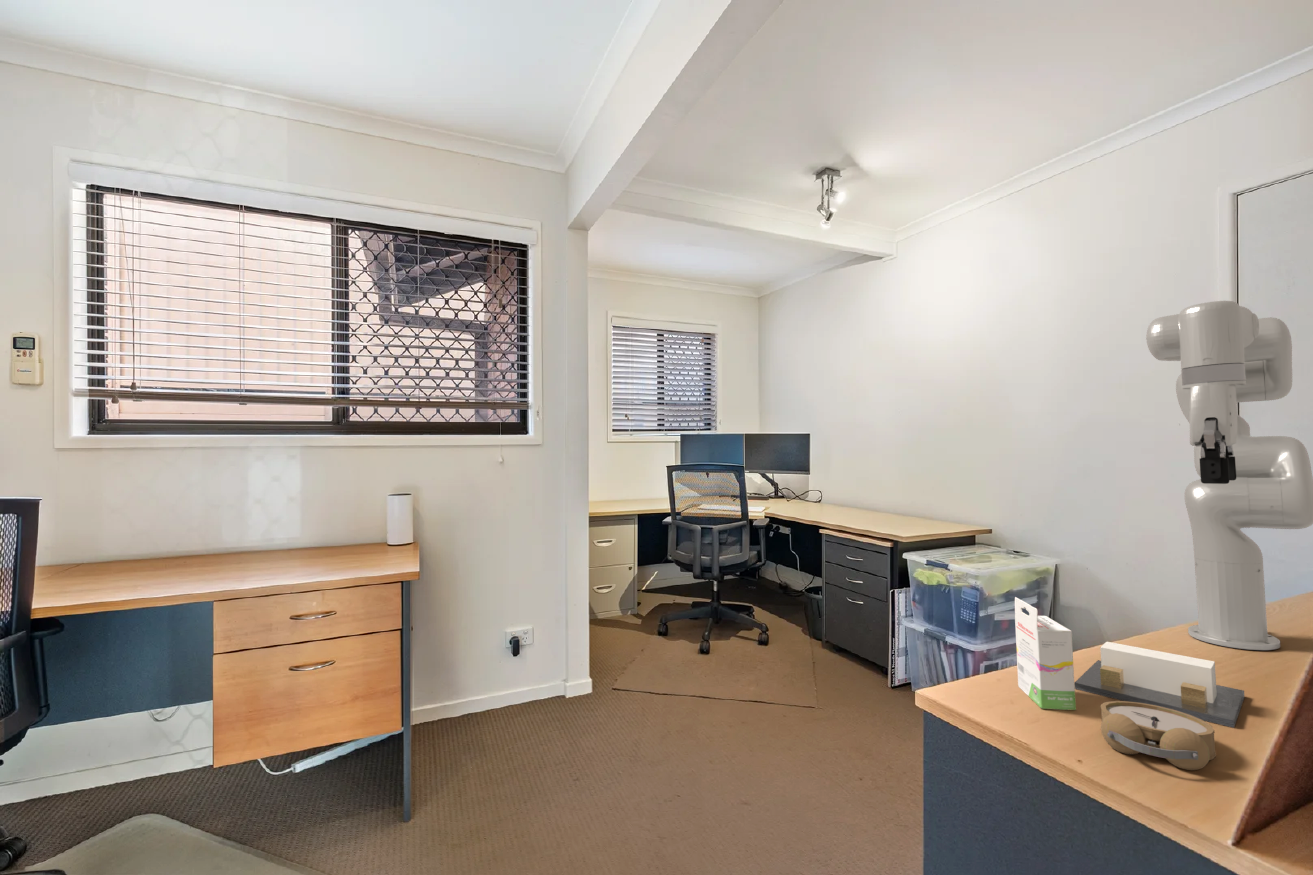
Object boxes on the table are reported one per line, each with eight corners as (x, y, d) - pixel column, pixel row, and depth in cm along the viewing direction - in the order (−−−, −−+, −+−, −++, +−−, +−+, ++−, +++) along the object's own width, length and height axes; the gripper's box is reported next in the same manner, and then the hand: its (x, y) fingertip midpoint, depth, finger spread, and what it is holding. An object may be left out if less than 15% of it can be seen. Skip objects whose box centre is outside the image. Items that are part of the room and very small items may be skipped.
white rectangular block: (1108, 671, 95) (1106, 641, 95) (1216, 695, 85) (1214, 661, 85) (1102, 678, 92) (1100, 647, 93) (1213, 703, 83) (1211, 668, 83)
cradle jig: (1098, 665, 100) (1097, 645, 100) (1244, 697, 86) (1243, 673, 86) (1074, 688, 91) (1073, 666, 91) (1234, 727, 77) (1232, 701, 78)
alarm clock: (1213, 717, 75) (1214, 739, 65) (1216, 757, 74) (1217, 786, 64) (1106, 694, 83) (1090, 711, 72) (1107, 730, 82) (1091, 752, 71)
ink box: (1078, 711, 84) (1073, 610, 84) (1041, 709, 84) (1035, 609, 85) (1050, 687, 92) (1045, 595, 92) (1016, 686, 93) (1012, 595, 93)
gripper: (1190, 383, 102) (1196, 478, 102) (1172, 377, 91) (1179, 484, 91) (1250, 378, 97) (1256, 479, 96) (1239, 371, 85) (1246, 485, 85)
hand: (1219, 481), depth 93 cm, fingers open, 9 cm apart
